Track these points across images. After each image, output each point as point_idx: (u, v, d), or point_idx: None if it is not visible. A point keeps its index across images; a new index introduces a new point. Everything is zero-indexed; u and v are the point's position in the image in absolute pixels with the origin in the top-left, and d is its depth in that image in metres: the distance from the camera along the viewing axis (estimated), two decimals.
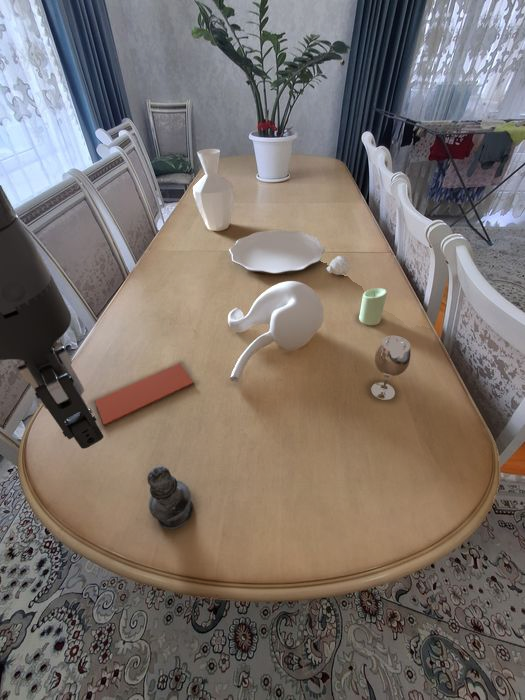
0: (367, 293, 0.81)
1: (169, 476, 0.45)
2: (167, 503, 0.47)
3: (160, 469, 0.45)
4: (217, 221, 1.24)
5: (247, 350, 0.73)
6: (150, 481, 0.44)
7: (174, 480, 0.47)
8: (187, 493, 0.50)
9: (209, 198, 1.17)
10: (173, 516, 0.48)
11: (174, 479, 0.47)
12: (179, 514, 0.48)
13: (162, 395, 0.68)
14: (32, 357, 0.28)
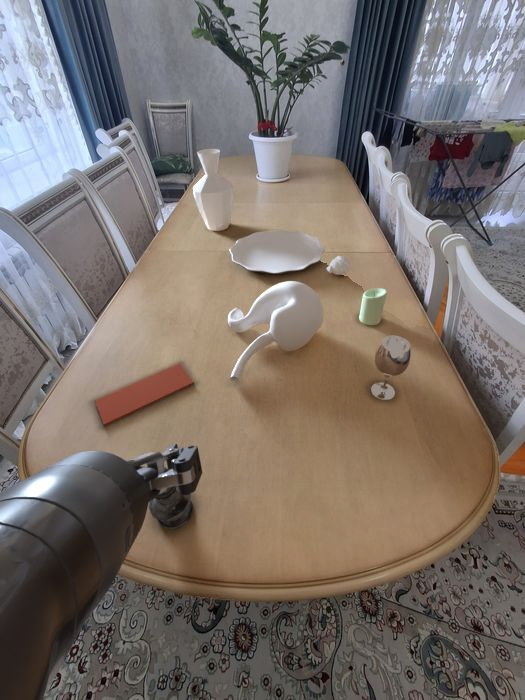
0: (367, 293, 0.81)
1: None
2: (167, 503, 0.47)
3: None
4: (217, 221, 1.24)
5: (247, 350, 0.73)
6: None
7: None
8: None
9: (209, 198, 1.17)
10: (173, 516, 0.48)
11: None
12: (179, 514, 0.48)
13: (162, 395, 0.68)
14: None
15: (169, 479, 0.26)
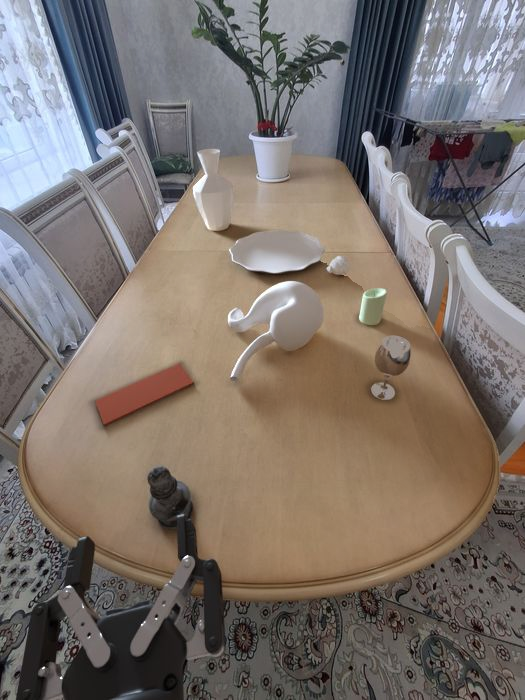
0: (367, 293, 0.81)
1: (169, 476, 0.45)
2: (167, 503, 0.47)
3: (160, 469, 0.45)
4: (217, 221, 1.24)
5: (247, 350, 0.73)
6: (150, 481, 0.44)
7: (174, 480, 0.47)
8: (187, 493, 0.50)
9: (209, 198, 1.17)
10: (173, 516, 0.48)
11: (174, 479, 0.47)
12: (179, 514, 0.48)
13: (162, 395, 0.68)
14: None
15: (200, 656, 0.25)
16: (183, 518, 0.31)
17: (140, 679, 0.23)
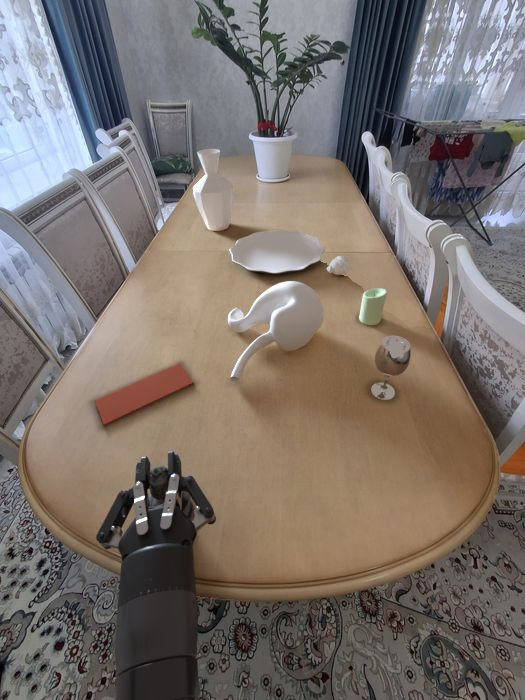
0: (367, 293, 0.81)
1: None
2: None
3: (160, 469, 0.45)
4: (217, 221, 1.24)
5: (247, 350, 0.73)
6: (150, 481, 0.44)
7: None
8: (187, 493, 0.50)
9: (209, 198, 1.17)
10: None
11: None
12: None
13: (162, 395, 0.68)
14: None
15: (203, 523, 0.40)
16: (172, 453, 0.46)
17: (167, 542, 0.38)
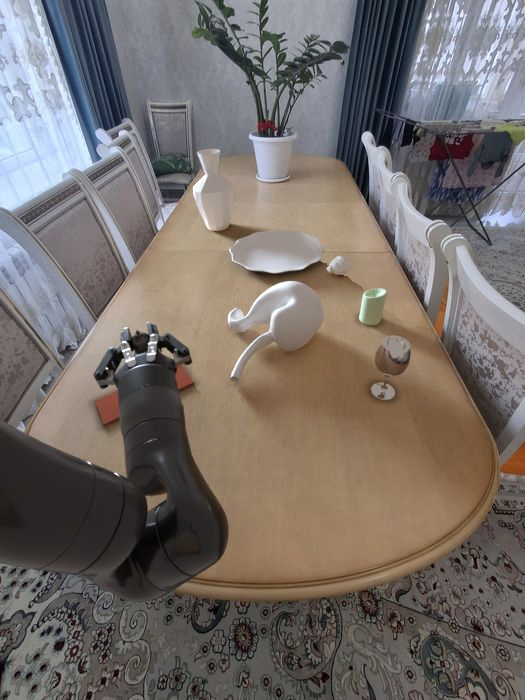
0: (367, 293, 0.81)
1: (149, 339, 0.54)
2: None
3: (141, 333, 0.53)
4: (217, 221, 1.24)
5: (247, 350, 0.73)
6: (133, 342, 0.53)
7: None
8: None
9: (209, 198, 1.17)
10: None
11: None
12: None
13: None
14: None
15: (181, 360, 0.50)
16: (150, 322, 0.55)
17: None
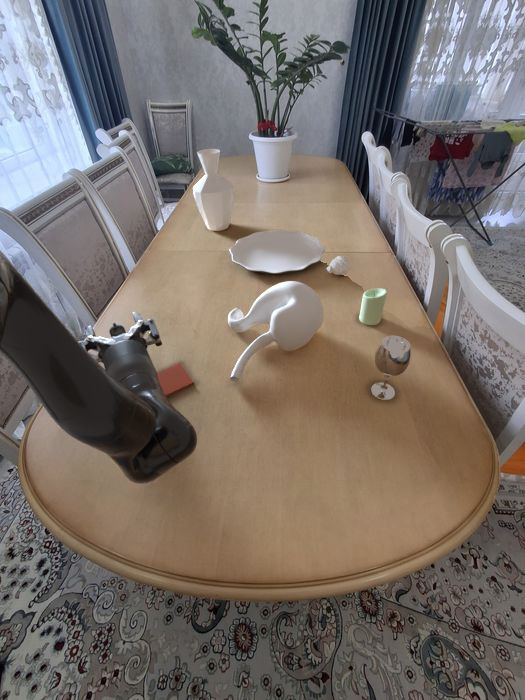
0: (367, 293, 0.81)
1: (124, 329, 0.69)
2: None
3: (117, 325, 0.68)
4: (217, 221, 1.24)
5: (247, 350, 0.73)
6: (112, 332, 0.68)
7: None
8: None
9: (209, 198, 1.17)
10: None
11: None
12: None
13: None
14: (103, 362, 0.60)
15: (151, 341, 0.64)
16: (135, 312, 0.70)
17: None
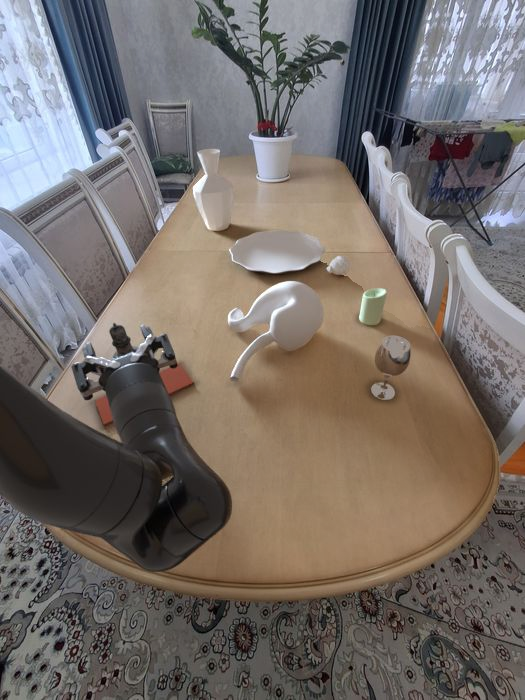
0: (367, 293, 0.81)
1: (124, 329, 0.69)
2: (126, 351, 0.71)
3: (117, 325, 0.68)
4: (217, 221, 1.24)
5: (247, 350, 0.73)
6: (112, 332, 0.68)
7: (128, 336, 0.71)
8: None
9: (209, 198, 1.17)
10: None
11: (127, 336, 0.71)
12: None
13: None
14: None
15: (165, 363, 0.52)
16: None
17: None
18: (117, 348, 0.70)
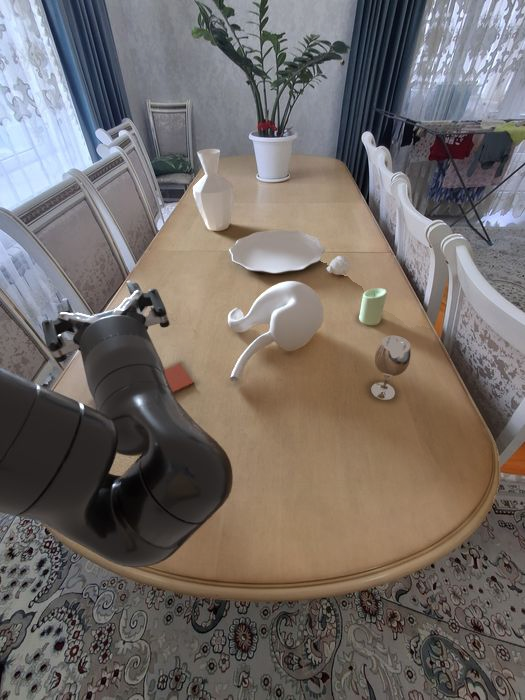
0: (367, 293, 0.81)
1: None
2: None
3: None
4: (217, 221, 1.24)
5: (247, 350, 0.73)
6: None
7: None
8: None
9: (209, 198, 1.17)
10: None
11: None
12: None
13: None
14: None
15: (154, 320, 0.43)
16: (130, 281, 0.49)
17: None
18: None
